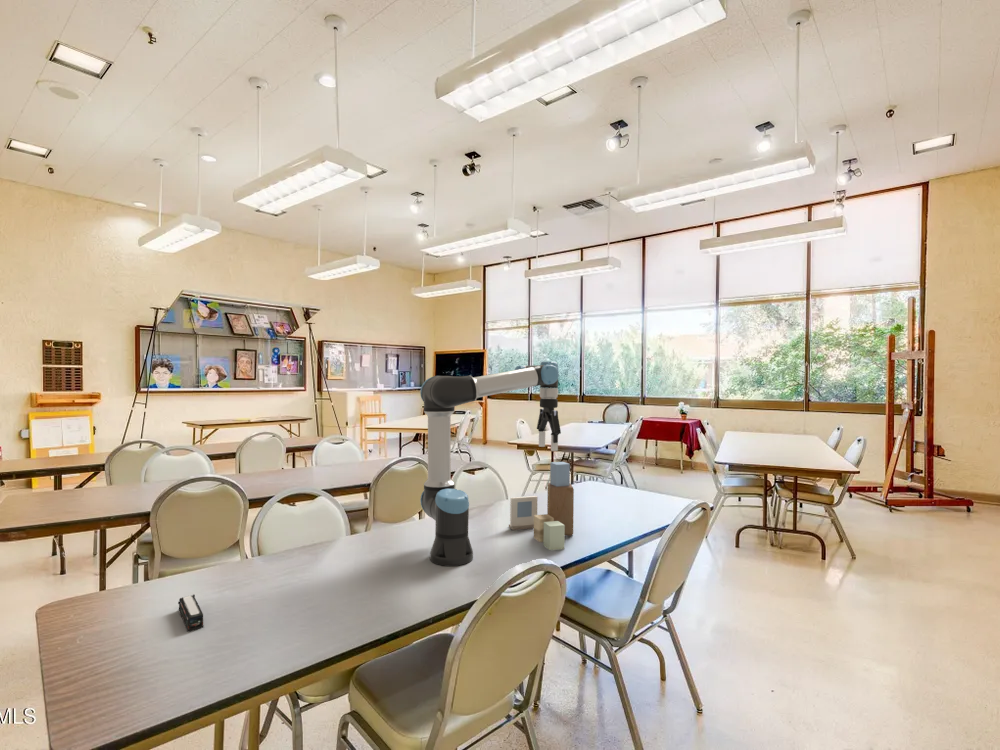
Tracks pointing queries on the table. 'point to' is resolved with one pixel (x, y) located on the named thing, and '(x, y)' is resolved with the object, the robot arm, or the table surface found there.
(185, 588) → the table surface
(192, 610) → the bus
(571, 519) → the wooden block
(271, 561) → the table surface
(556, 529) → the sage block
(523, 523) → the placard
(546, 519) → the maple block
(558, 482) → the slate blue block
